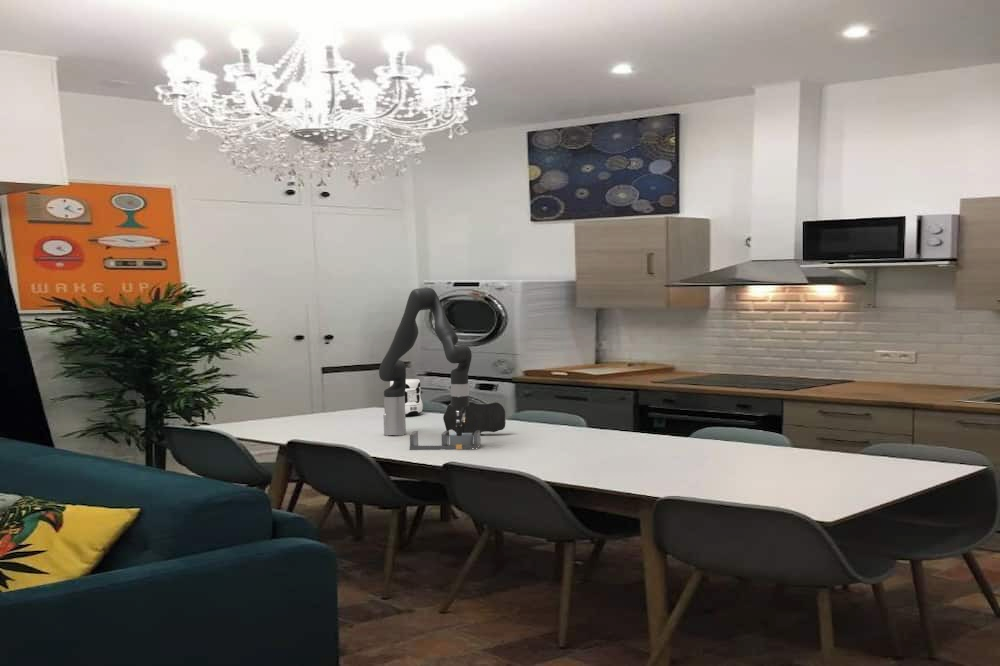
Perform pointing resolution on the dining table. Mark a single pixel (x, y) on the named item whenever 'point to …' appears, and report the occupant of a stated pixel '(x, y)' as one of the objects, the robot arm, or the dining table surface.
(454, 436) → the tall pale blue prism
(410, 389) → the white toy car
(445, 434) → the rack
